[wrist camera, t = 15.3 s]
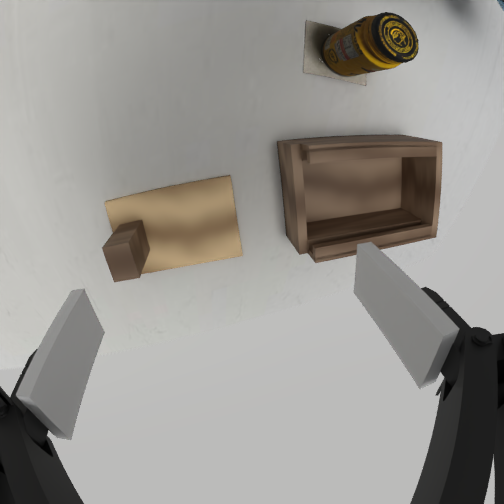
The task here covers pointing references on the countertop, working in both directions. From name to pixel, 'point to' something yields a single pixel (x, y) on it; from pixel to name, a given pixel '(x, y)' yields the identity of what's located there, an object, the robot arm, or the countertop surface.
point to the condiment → (359, 47)
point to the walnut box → (359, 192)
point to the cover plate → (172, 228)
